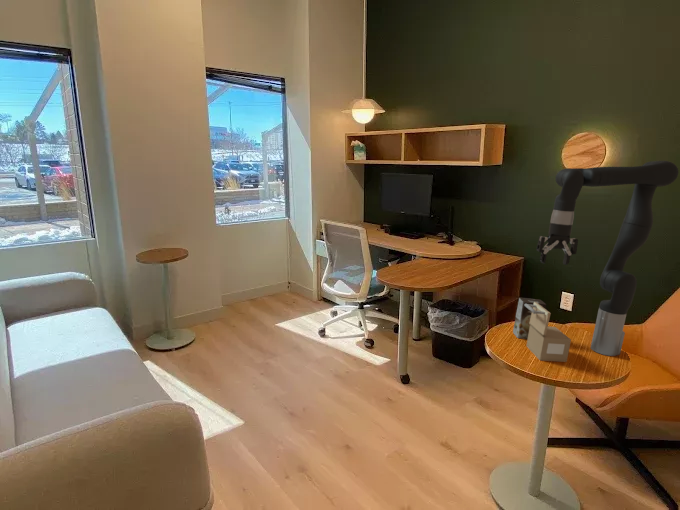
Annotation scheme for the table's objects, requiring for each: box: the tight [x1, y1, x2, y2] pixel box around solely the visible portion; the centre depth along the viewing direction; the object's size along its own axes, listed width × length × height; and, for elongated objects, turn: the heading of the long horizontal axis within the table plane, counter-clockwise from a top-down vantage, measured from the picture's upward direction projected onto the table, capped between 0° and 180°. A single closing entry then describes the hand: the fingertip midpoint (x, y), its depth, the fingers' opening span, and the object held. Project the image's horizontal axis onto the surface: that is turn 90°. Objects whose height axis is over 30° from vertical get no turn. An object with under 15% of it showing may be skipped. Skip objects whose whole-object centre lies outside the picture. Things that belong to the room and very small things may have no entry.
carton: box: [526, 325, 572, 363], centre depth 160 cm, size 10×12×9 cm
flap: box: [524, 302, 552, 337], centre depth 158 cm, size 10×12×5 cm
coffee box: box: [512, 296, 547, 340], centre depth 175 cm, size 9×6×16 cm
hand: (553, 263), depth 161 cm, fingers open, 8 cm apart
